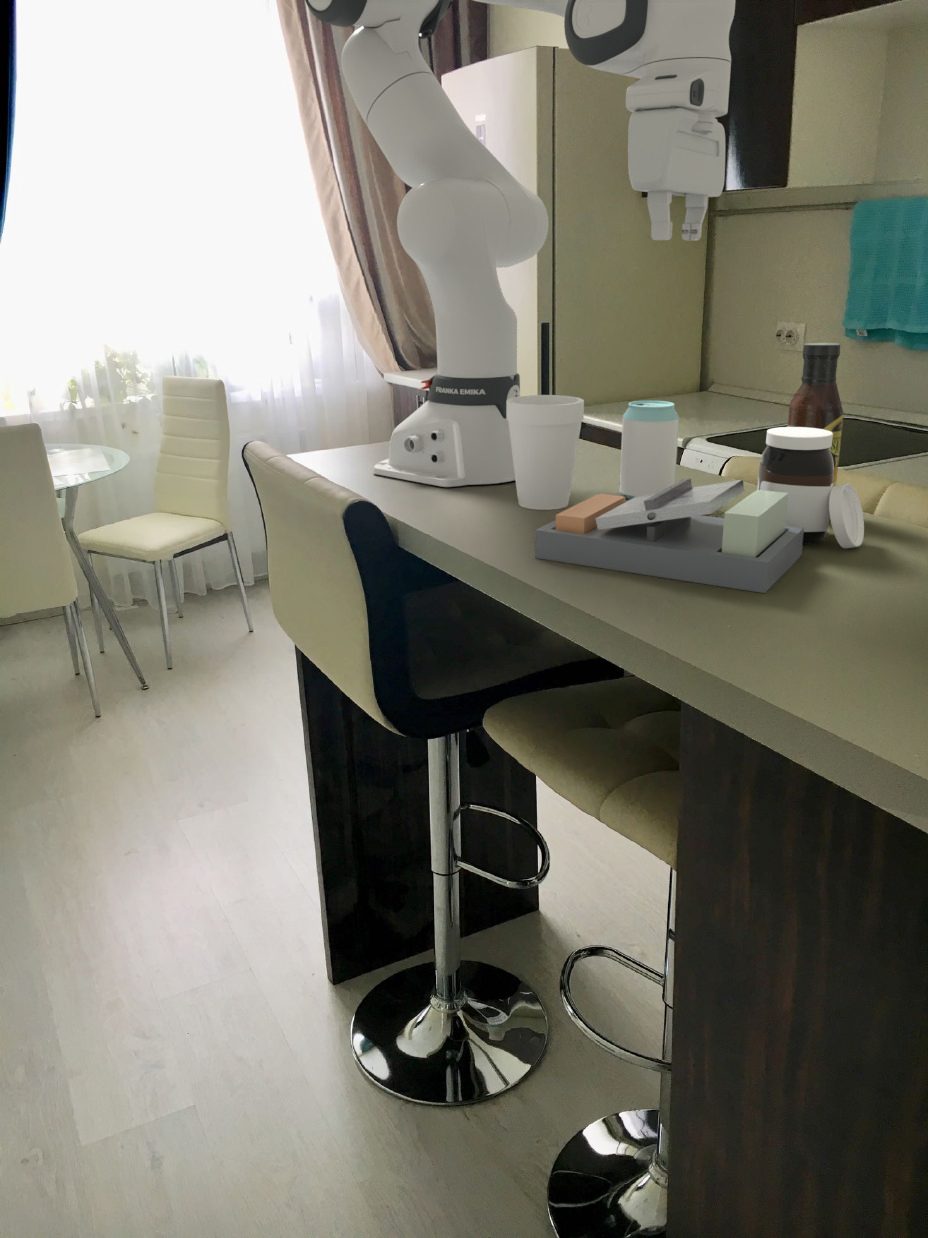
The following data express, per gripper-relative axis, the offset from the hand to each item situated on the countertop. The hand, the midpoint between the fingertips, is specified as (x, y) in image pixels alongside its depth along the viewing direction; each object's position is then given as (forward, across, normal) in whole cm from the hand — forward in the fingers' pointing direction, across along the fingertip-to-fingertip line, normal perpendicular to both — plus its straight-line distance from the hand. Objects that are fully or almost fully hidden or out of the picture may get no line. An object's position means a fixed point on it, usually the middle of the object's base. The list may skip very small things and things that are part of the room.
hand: (676, 240), depth 109 cm
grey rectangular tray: (+31, +14, +6) cm, 35 cm away
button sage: (+28, +14, +15) cm, 35 cm away
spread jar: (+31, 0, +17) cm, 36 cm away
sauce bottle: (+31, -12, +14) cm, 36 cm away
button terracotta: (+31, +14, -3) cm, 34 cm away
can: (+31, -11, -6) cm, 34 cm away
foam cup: (+31, -1, -16) cm, 35 cm away
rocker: (+26, +14, +6) cm, 30 cm away
